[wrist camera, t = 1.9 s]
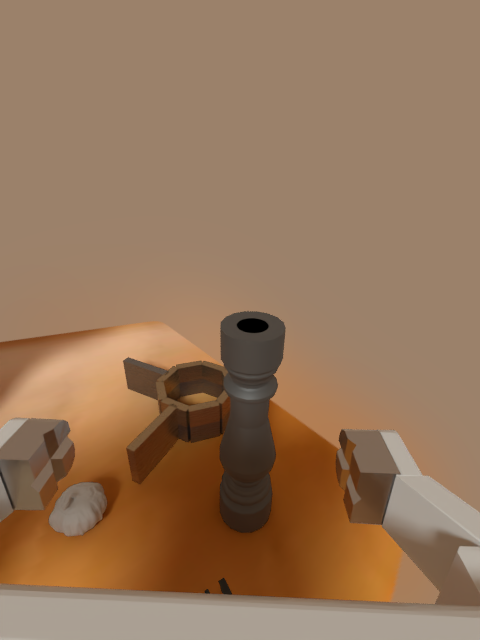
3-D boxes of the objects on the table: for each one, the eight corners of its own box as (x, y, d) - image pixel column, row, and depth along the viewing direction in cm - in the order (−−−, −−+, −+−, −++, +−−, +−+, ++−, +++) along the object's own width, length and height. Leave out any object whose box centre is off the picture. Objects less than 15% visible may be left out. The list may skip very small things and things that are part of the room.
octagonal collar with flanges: (59, 442, 48) (49, 410, 45) (151, 369, 65) (148, 343, 62) (173, 502, 40) (169, 468, 37) (245, 402, 57) (246, 373, 54)
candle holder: (262, 479, 43) (275, 307, 32) (277, 526, 38) (299, 339, 27) (215, 488, 42) (211, 313, 31) (224, 538, 37) (224, 347, 25)
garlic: (69, 558, 35) (58, 529, 32) (46, 525, 38) (34, 496, 35) (120, 515, 39) (113, 486, 36) (95, 488, 42) (87, 460, 39)
